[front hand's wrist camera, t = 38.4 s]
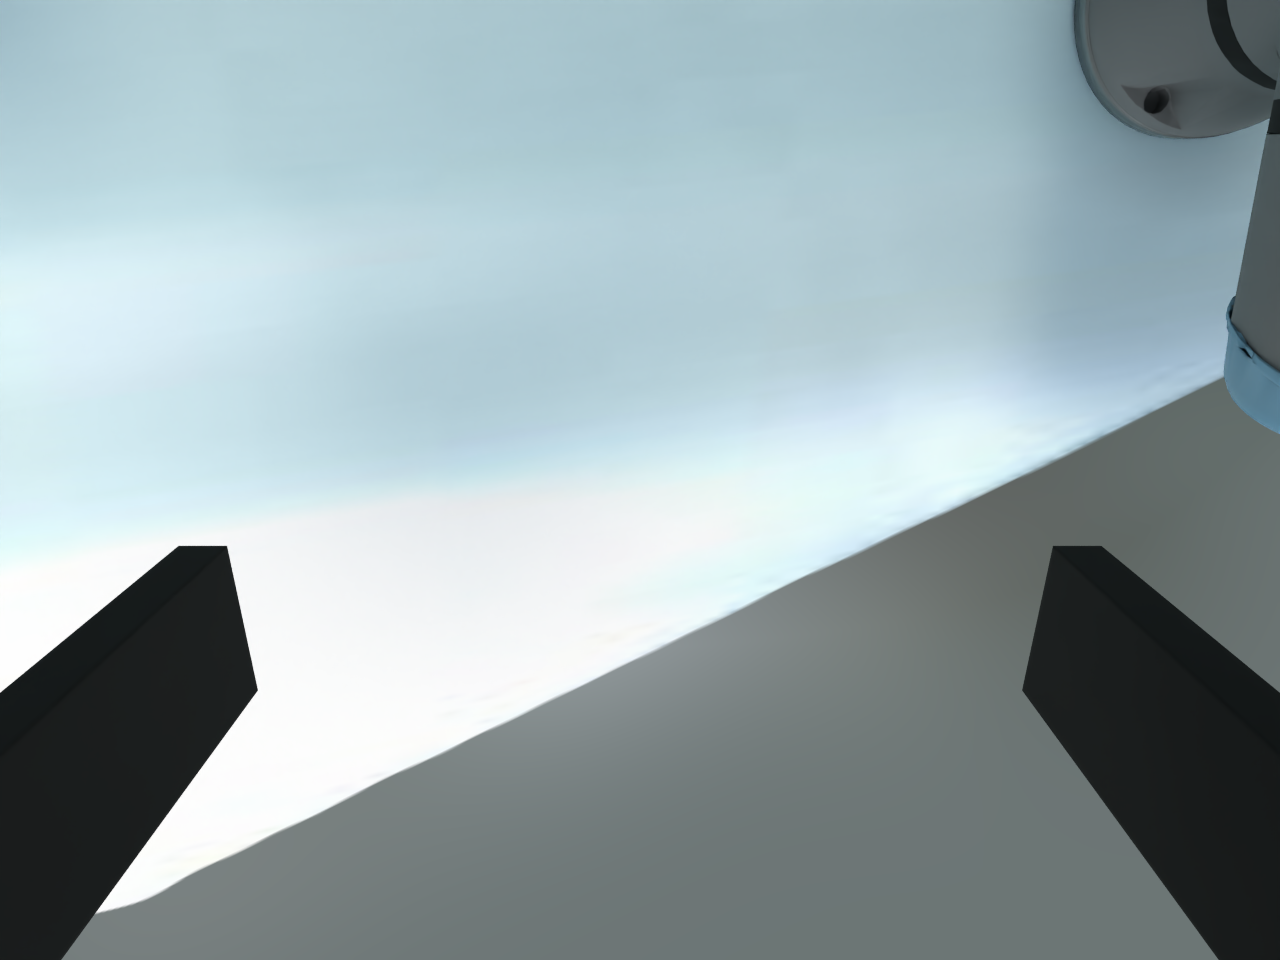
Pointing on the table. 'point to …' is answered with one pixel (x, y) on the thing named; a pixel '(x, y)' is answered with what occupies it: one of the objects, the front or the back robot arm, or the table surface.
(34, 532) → the table surface
